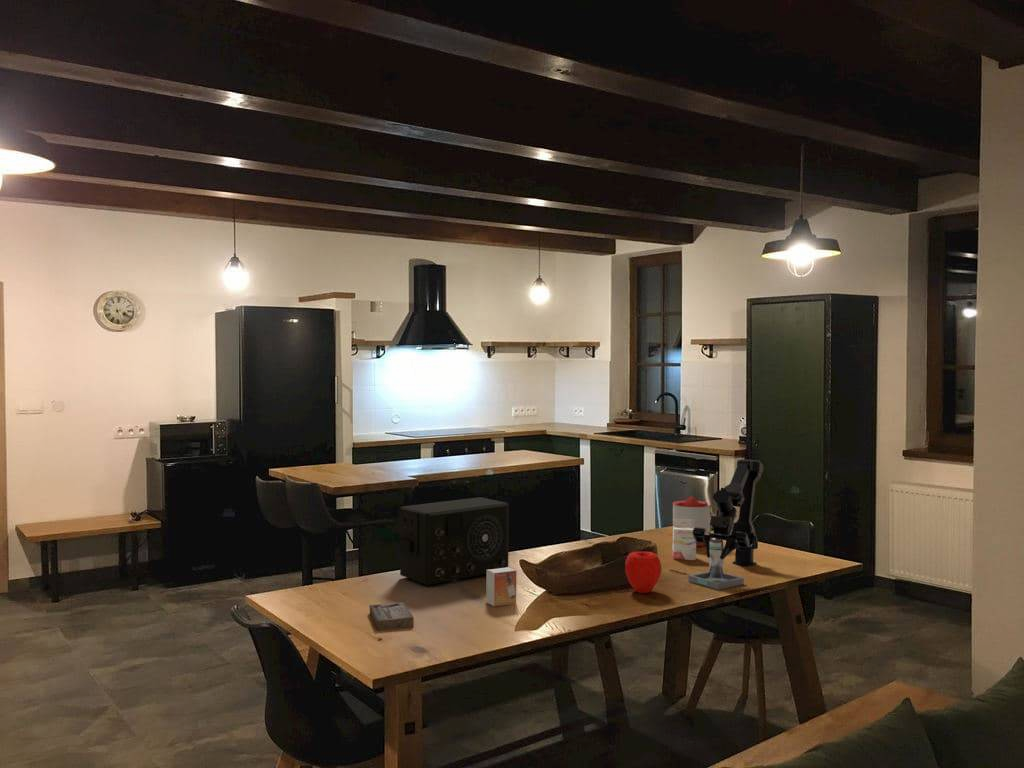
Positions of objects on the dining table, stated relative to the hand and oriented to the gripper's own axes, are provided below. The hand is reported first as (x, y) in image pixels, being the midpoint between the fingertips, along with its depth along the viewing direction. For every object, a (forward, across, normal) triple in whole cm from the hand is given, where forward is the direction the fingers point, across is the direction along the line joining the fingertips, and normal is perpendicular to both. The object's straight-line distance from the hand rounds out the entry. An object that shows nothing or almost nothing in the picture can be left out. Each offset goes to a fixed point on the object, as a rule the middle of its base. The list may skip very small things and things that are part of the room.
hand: (714, 558), depth 294 cm
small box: (+48, -48, -35) cm, 76 cm away
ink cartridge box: (-15, -22, +28) cm, 39 cm away
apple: (+22, -16, -10) cm, 29 cm away
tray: (+5, 0, +7) cm, 9 cm away
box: (+70, -66, -58) cm, 112 cm away
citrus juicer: (-34, -28, +47) cm, 64 cm away
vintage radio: (+34, -80, -21) cm, 90 cm away
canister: (+4, 0, +6) cm, 7 cm away
